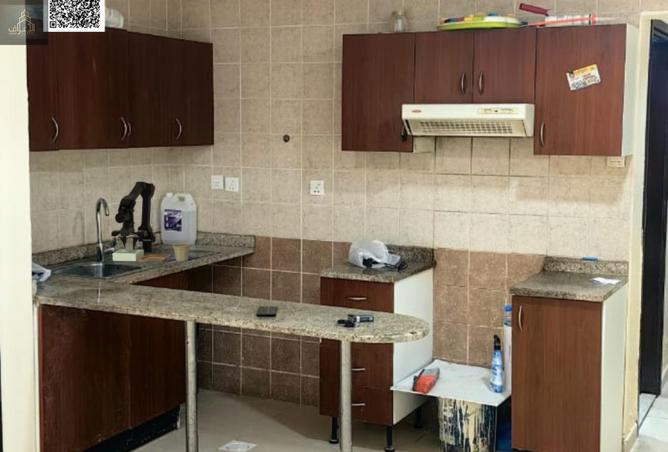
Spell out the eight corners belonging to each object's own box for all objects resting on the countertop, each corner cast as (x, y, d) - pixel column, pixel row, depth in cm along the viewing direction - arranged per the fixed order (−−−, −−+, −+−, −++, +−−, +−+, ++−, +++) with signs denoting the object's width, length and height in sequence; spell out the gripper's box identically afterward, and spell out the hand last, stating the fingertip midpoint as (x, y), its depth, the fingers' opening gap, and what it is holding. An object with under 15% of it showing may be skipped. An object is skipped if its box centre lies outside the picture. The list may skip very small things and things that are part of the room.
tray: (147, 256, 548) (147, 254, 548) (171, 257, 546) (171, 254, 546) (137, 262, 532) (136, 259, 532) (162, 262, 530) (162, 260, 529)
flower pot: (170, 262, 532) (169, 246, 530) (177, 259, 541) (177, 243, 539) (186, 262, 529) (185, 246, 528) (193, 259, 538) (193, 244, 537)
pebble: (125, 250, 540) (125, 243, 539) (126, 249, 544) (126, 242, 543) (132, 250, 540) (132, 243, 539) (134, 249, 544) (133, 242, 543)
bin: (121, 257, 547) (121, 249, 547) (143, 257, 546) (143, 249, 545) (112, 261, 535) (112, 253, 534) (135, 262, 533) (135, 253, 532)
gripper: (106, 222, 533) (108, 251, 535) (139, 223, 530) (141, 251, 533) (114, 219, 544) (115, 247, 546) (146, 220, 541) (148, 248, 544)
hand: (129, 248), depth 542 cm, fingers closed on pebble, 4 cm apart
